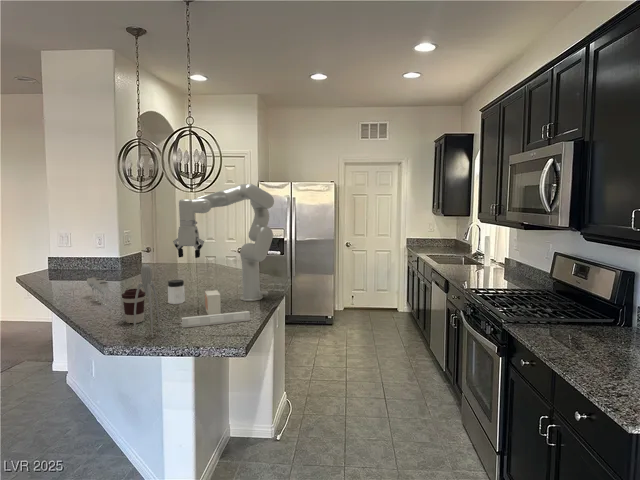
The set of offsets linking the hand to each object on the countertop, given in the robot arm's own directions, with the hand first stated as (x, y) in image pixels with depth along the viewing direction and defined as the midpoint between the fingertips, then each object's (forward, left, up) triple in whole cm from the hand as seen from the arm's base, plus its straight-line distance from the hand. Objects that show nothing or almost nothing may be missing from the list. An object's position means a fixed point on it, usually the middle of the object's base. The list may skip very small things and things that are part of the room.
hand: (189, 257), depth 221 cm
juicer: (+21, +36, -27) cm, 50 cm away
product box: (-10, +10, -27) cm, 31 cm away
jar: (+6, -20, -27) cm, 34 cm away
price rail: (-9, +31, -27) cm, 42 cm away
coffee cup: (+26, +13, -27) cm, 40 cm away
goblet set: (+47, -42, -27) cm, 69 cm away
